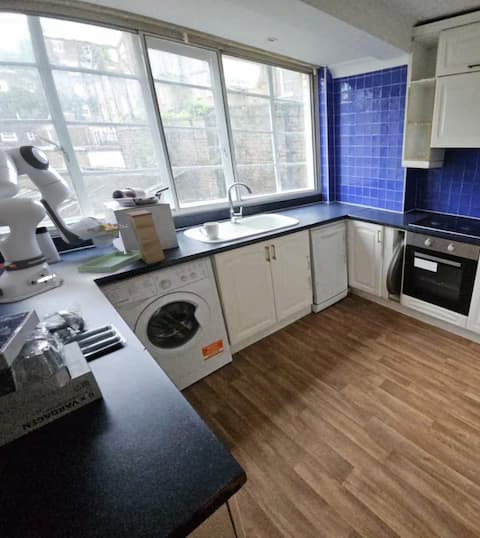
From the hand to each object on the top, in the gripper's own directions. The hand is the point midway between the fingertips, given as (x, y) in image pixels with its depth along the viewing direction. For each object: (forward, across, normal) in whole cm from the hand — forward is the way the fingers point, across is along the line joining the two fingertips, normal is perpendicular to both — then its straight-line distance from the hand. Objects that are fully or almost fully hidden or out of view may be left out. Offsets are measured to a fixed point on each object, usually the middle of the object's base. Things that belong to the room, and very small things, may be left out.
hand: (104, 225), depth 151 cm
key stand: (+2, +13, +24) cm, 27 cm away
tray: (-8, -2, +18) cm, 20 cm away
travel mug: (-36, -22, +3) cm, 42 cm away
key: (+3, 0, +3) cm, 4 cm away
